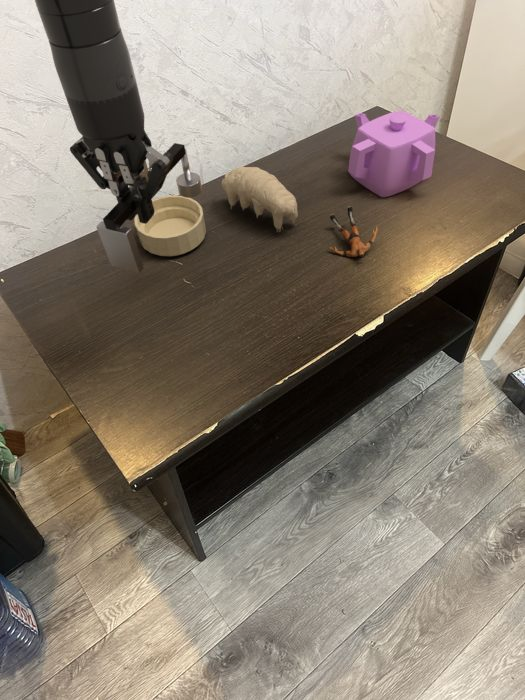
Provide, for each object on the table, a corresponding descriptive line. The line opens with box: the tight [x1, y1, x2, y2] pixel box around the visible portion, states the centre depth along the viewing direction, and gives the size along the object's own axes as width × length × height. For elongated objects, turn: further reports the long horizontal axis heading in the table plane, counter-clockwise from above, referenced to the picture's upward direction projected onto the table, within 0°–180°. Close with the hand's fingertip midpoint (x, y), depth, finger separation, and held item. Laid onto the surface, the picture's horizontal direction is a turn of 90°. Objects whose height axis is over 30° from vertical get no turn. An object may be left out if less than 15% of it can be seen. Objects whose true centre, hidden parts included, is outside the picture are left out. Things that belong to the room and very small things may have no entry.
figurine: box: [329, 205, 379, 259], centre depth 91 cm, size 9×2×11 cm
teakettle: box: [347, 109, 440, 198], centre depth 100 cm, size 17×17×12 cm
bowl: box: [133, 195, 207, 257], centre depth 94 cm, size 13×13×5 cm
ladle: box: [96, 142, 203, 274], centre depth 69 cm, size 20×4×8 cm, turn 157°
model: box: [221, 166, 299, 233], centre depth 95 cm, size 7×18×10 cm, turn 49°
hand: (139, 217), depth 66 cm, fingers closed on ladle
